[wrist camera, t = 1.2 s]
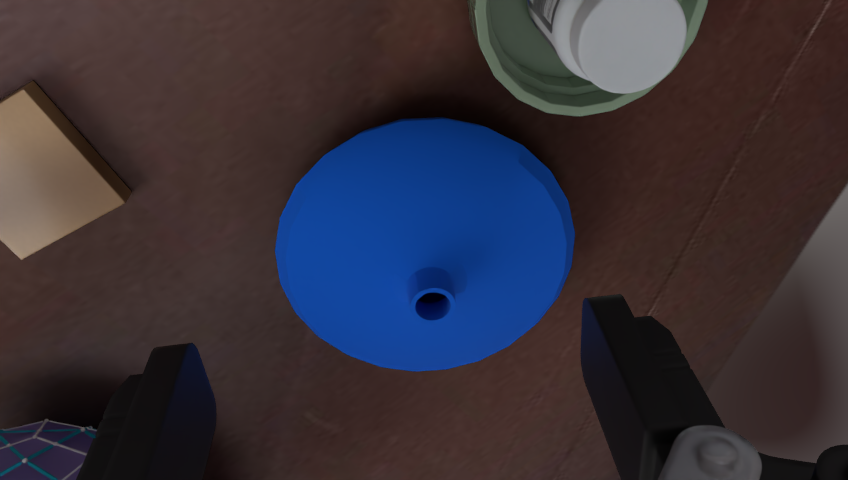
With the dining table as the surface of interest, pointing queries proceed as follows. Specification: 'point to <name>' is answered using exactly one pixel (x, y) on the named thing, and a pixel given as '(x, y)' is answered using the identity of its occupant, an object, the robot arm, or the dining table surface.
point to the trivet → (48, 174)
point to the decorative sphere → (44, 451)
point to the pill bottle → (613, 39)
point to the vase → (425, 244)
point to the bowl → (548, 59)
